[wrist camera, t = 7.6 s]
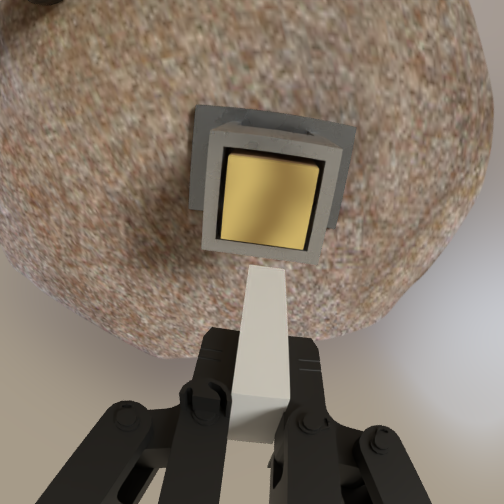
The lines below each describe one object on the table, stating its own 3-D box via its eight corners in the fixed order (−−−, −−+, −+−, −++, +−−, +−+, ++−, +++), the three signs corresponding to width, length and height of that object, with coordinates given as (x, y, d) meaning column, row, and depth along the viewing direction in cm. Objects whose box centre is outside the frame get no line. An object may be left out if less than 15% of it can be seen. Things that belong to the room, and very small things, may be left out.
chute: (190, 206, 42) (153, 258, 28) (197, 104, 35) (155, 107, 22) (333, 226, 42) (359, 286, 28) (354, 126, 35) (399, 142, 22)
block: (237, 191, 38) (220, 238, 26) (244, 137, 35) (228, 156, 23) (293, 199, 38) (303, 249, 26) (302, 145, 35) (319, 169, 23)
